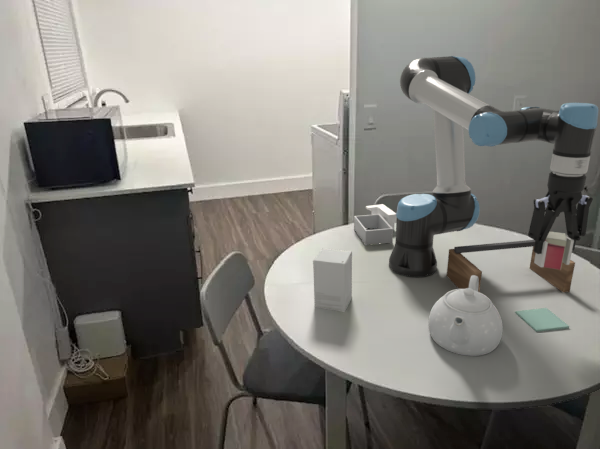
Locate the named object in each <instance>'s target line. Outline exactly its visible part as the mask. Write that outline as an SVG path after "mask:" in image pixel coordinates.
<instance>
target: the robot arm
mask: <svg viewBox="0 0 600 449" xmlns="http://www.w3.org/2000/svg"><path fill="white" fill-rule="evenodd" d="M399 84H400V89H401V92H402V93H403V94H404V96H405V97H407V98H408V100H411V101H412V102H414V103H416V104H424V105H426V106H428V107H429V108H431V109H432V110H433V124H434V126H433V128H434V143H435V145H434V146H435V165H436V168H435V169H436V183H437V184H436V186H435V187H434V189H433V190H432V194H429V193H414V194H410V195H409V194H408V195H406V196H404V197H402V198H401V199H400V200H399V201H398V203H397V207H396V212H395V213H396V217H397V220H396V223H395V224H396V225H395V243H394V245H393V249H392V251H391V253H390V256H389V257H388V258H389V259H388V267H389V268H390V270H391V271H392V272H394V273H395V274H398V275H400V276H406V277H409V278H411V277H412V278H423V277H427V276H431V275H433V274H434V273H436V272H437V269H438V267H437V266H438V261H437V257H436V253H435V249H434V237H435V236H436V235H441V234H446V233H453V232H461V231H464V230H468V229H470V228H472V227H473V226H474V225H475V224H476V223H477V221H478V219H479V216H480V212H481V211H480V210H481V208H480V203H479V200H478V197H477V196H476V195H475V194H473V193H472V188H470V186H468V185H467V183H466V168H465V163H466V162H465V160H466V159H465V141H464V139H465V138H464V137H465V136H464V130H465V129H466V130H467V131H468V136H469V139H471V141H472V143H473V144H474V145H477V146H478V147H496V146H501V145H508V144H515V143H516V144H517V143H518V144H519V143H527V142H536V141H539V142H543V143H548V144H553V149H552V155H551V161H550V166H549V170H550V172H549V173H548V179H547V193H546V194H545V197H541V198H539V197H538V198H536V197H535V198H534V199H533V211H532V217H531V221H530V224H529V229H528V234H527V236H528V238H531V240H535V245H534V252H535V253H536V254H535V260H534V263H535V264H537V265H538V266H540V267H544V262H545V257H546V251H547V245H548V242H546V241H545V240H546V238H547V236H548V234H549V232H551V229H552V227H553V225H554V224H555V221H556V219H557V218H558V217H560V214H561V213H564V222H565V229H566V236H567V242H566V247H565V252H564V257H563V263H564V264H566V265H569V264H570V260H572V259H571V257H572V253H573V251H574V250H575V248H576V244H577V241H580V240H581V237H585V236H586V235H587V226H588V219H589V212H590V206H591V204H592V202H593V197H591V196H588V195H587V194H583V193H582V192H583V191H584V190H585V185H586V180H587V176H586V173H588V170H589V164H590V160H591V153H592V147H593V143H594V140H595V135H596V130H597V128H598V118H599V112H600V111H599V106H598V105H597V104H594V103H588V102H566V103H563V104H562V105H560V108H559V110H557V109H550V108H543V107H540V106H525V107H522V108H520V109H518V110H508V111H507V110H506V111H503V110H501V109H498V108H496V107H494V106H491V104H489V103H486V102H484V101H482V100H481V99H479V98H477V97H475V96H473V95H471V94H470V93H471V92H472V91H473V89H474V86H475V85H476V72H475V68H474V66H473V64H472V63H471V62H470V61H469V60H468V58H465V57H463V56H454V55H451V56H438V57H437V56H436V57H420V58H419V57H418V58H416V59H413V60H412V61H410V62H408V64H406V66H405V67H404V69H403V70H402V71H401V75H400V79H399Z"/></svg>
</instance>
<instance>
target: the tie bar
mask: <svg viewBox="0 0 600 449" xmlns="http://www.w3.org/2000/svg"><path fill="white" fill-rule="evenodd" d="M545 241H546V240H545ZM534 245H535V240H533V239H528V240H516V241H506V242H505V241H504V242H493V243H483V244H470V245H460V246H454V248H453V249H454V252H455V253H461V254H465V253H478V252H485V251H496V250H497V251H498V250H499V251H500V250H510V249H521V248H529V247H530V248H533V246H534Z"/></svg>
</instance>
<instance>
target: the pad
mask: <svg viewBox="0 0 600 449" xmlns="http://www.w3.org/2000/svg"><path fill="white" fill-rule="evenodd" d="M514 313H515V315H517V316H518V317H520V319H521V320H522V321H523V322H524V323H526V324H527V325H528V326H529V327H530V328H531V329H532V330H534V332H546V331H554V330H555V331H556V330H565V329H569V328H570V325H569V324H567V322H565V321H563V320H562V319H561V318H560V317H558V315H556V314H555V313H554V312H553V311H551V310H550V309H549V308H547V307H543V308H533V309H524V310H516V311H514Z"/></svg>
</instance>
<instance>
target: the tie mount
mask: <svg viewBox="0 0 600 449" xmlns="http://www.w3.org/2000/svg"><path fill="white" fill-rule="evenodd" d="M535 254H536V253H535V252H534V246H532V252H531V256H530V264H529V269H530V270H531V271H532V272H534V273H535V274H536V275H538V276H540V277H541V278H542V279H543V280H545V281H546V282H548V283H549V284H551V285H552V286H554V287H555V288H556V289H558V290H559V291H561V293H569V292H570V290H571V286H572V280H573V276H574V270H575V266H576V262H575V261H574V260H572V259H570V264H569V265H566V264H564V263H563V262H562V267H561V270H559V269H552V268H546V267H540V266H538V265H537V264H535V263H534V260H535ZM446 266H447V267H446V278H448V279H449V280H450V281H451V282H452V283H453V284H454V286H455V287H456V288H457V289H466V288H469V282H470V278H471V276H472V275H475V276H478V278H479V287H478V292H480V293H481V291H480V290H481V284H482V283H481V282H482V275H483V274H482V273H483V271H482V270H480V269H479V268H478V267H477V266H476V265H475V264H474V263H473V262H471V261H470V260H469V259H468V258H467V257H465V256H464V255H463V253H455V252H454V248H449V249H448V257H447V265H446Z"/></svg>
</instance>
